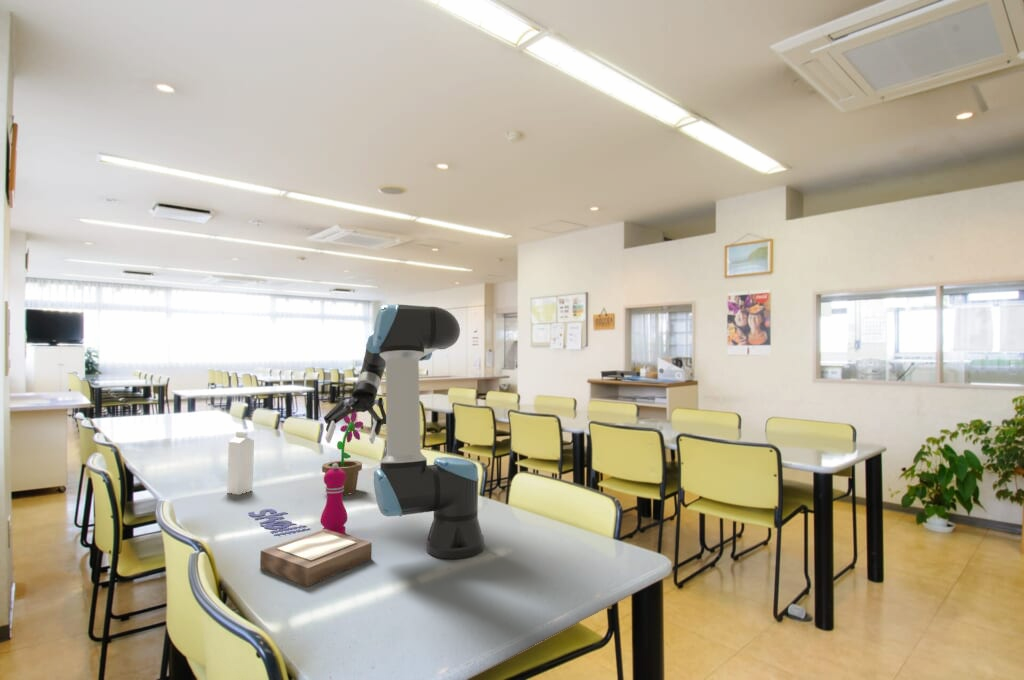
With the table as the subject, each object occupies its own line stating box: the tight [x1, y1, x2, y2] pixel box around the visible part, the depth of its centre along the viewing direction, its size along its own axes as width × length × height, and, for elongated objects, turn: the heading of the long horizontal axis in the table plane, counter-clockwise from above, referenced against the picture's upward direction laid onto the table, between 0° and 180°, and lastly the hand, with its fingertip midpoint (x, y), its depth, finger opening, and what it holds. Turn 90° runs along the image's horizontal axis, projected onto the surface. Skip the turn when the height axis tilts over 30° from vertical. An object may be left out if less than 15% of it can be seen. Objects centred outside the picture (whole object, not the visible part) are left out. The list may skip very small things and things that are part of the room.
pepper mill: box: [320, 463, 348, 535], centre depth 140 cm, size 7×7×20 cm
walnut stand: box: [259, 529, 373, 587], centre depth 120 cm, size 18×18×4 cm
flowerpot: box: [321, 412, 364, 496], centre depth 185 cm, size 14×14×30 cm
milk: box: [226, 431, 255, 496], centre depth 184 cm, size 6×6×22 cm
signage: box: [247, 508, 310, 537], centre depth 151 cm, size 28×1×10 cm
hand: (349, 440), depth 151 cm, fingers open, 13 cm apart
